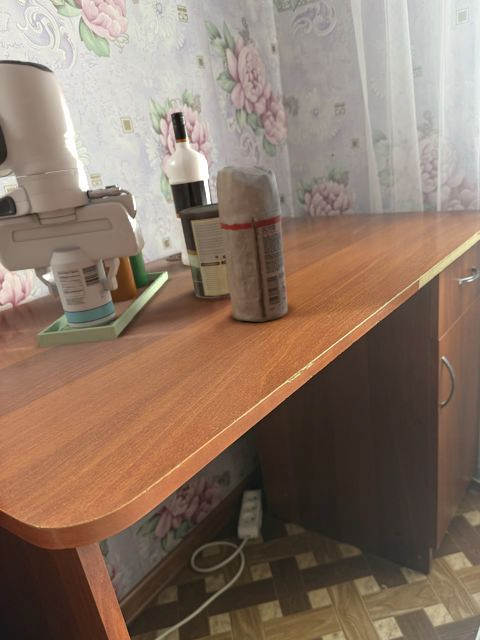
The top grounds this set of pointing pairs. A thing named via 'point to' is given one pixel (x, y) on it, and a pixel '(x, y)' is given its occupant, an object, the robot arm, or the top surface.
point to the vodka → (186, 176)
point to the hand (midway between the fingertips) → (84, 292)
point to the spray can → (252, 242)
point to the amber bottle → (123, 281)
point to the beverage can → (82, 289)
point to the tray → (67, 335)
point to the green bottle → (137, 264)
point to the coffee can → (205, 250)
